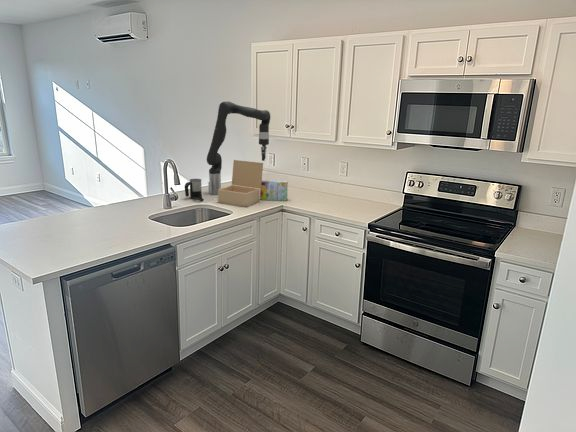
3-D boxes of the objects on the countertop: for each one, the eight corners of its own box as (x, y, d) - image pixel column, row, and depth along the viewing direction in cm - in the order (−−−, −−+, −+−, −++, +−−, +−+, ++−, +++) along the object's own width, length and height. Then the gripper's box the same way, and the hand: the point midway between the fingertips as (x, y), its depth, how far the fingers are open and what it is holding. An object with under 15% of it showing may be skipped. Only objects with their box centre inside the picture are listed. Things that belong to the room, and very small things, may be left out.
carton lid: (233, 159, 305) (234, 160, 306) (231, 184, 308) (232, 184, 309) (262, 163, 294) (263, 163, 296) (260, 188, 297) (261, 188, 298)
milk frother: (195, 196, 312) (194, 177, 307) (211, 198, 305) (210, 180, 300) (183, 199, 300) (182, 180, 295) (199, 202, 293) (198, 183, 288)
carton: (218, 202, 294) (217, 189, 291) (232, 197, 310) (232, 185, 308) (246, 207, 284) (246, 193, 281) (259, 201, 300) (259, 188, 297)
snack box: (287, 199, 309) (287, 180, 304) (286, 201, 303) (287, 182, 299) (261, 198, 311) (261, 179, 306) (259, 199, 305) (259, 181, 301)
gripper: (259, 136, 297) (259, 158, 302) (258, 138, 283) (258, 161, 288) (269, 137, 297) (269, 158, 302) (268, 139, 283) (268, 161, 288)
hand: (263, 159), depth 295 cm, fingers open, 8 cm apart
